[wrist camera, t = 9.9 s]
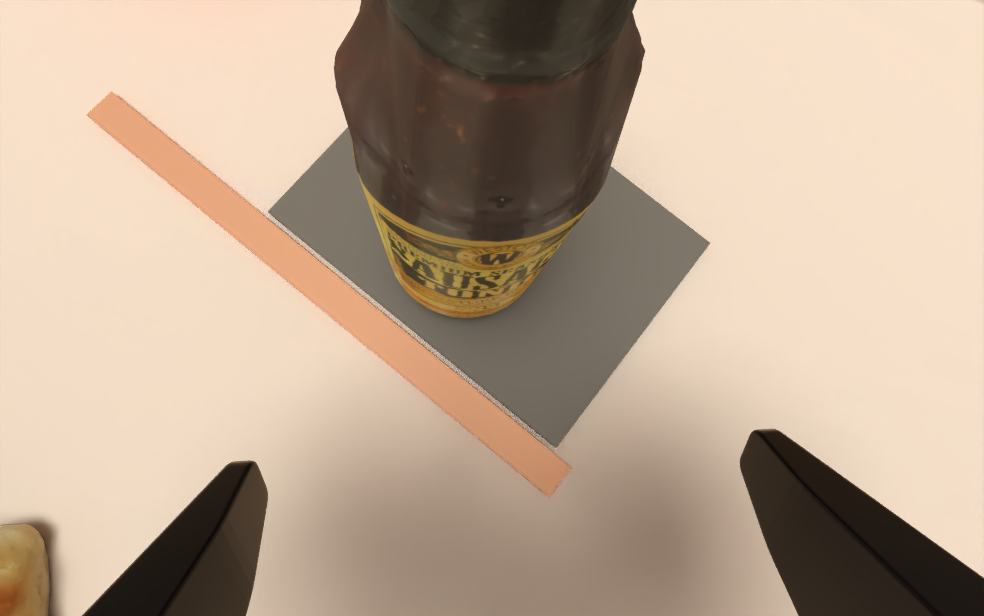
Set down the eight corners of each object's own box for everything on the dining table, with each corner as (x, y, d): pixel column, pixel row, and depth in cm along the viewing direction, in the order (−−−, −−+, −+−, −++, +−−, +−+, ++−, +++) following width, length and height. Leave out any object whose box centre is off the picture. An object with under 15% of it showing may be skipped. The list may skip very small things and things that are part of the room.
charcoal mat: (707, 244, 24) (710, 243, 24) (554, 446, 22) (555, 447, 22) (437, 37, 25) (437, 32, 25) (270, 214, 23) (267, 211, 23)
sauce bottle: (400, 331, 22) (-29, -114, 3) (388, 192, 23) (11, -856, 4) (551, 316, 23) (1086, -156, 3) (533, 180, 24) (865, -805, 4)
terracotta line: (569, 466, 22) (571, 467, 22) (548, 496, 22) (549, 497, 22) (116, 95, 24) (111, 91, 23) (91, 118, 23) (86, 115, 23)
